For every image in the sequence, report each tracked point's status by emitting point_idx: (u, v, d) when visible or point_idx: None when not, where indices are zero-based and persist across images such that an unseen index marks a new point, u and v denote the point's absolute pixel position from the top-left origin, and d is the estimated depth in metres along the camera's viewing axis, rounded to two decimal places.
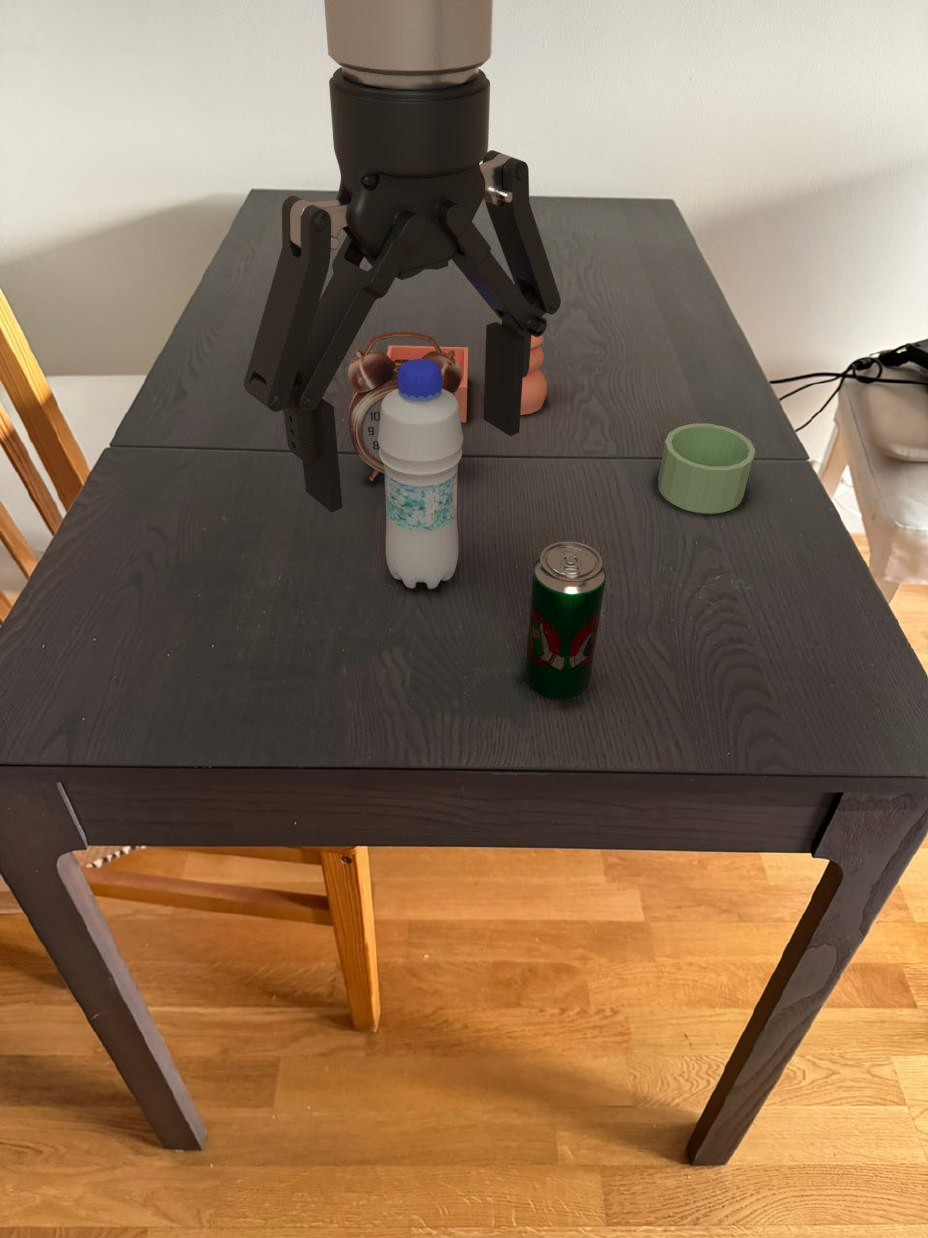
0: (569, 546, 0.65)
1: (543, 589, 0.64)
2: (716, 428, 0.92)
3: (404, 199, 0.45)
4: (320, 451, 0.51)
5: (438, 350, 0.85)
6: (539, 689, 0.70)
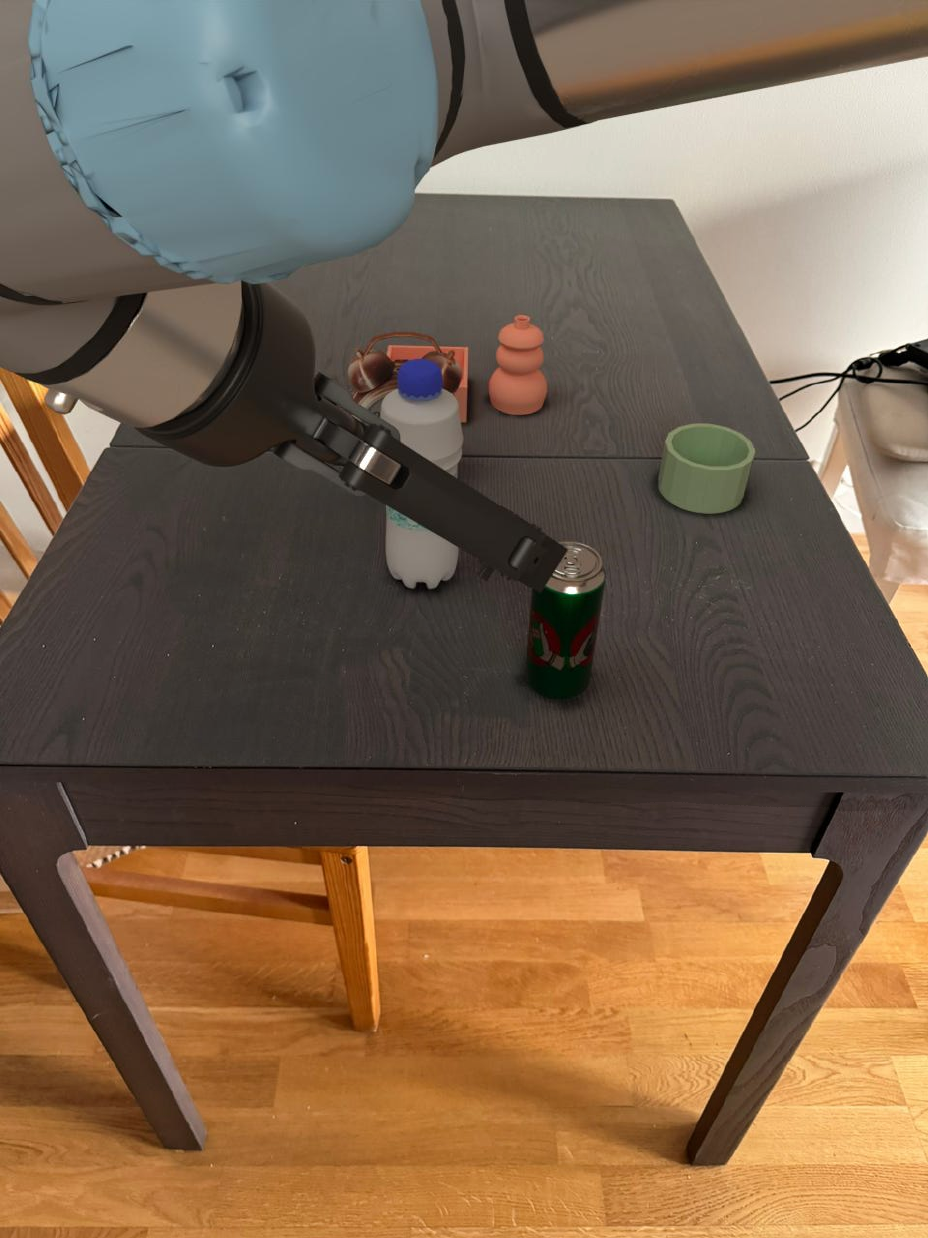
0: (569, 546, 0.65)
1: (543, 589, 0.64)
2: (716, 428, 0.92)
3: None
4: None
5: (438, 350, 0.85)
6: (539, 689, 0.70)
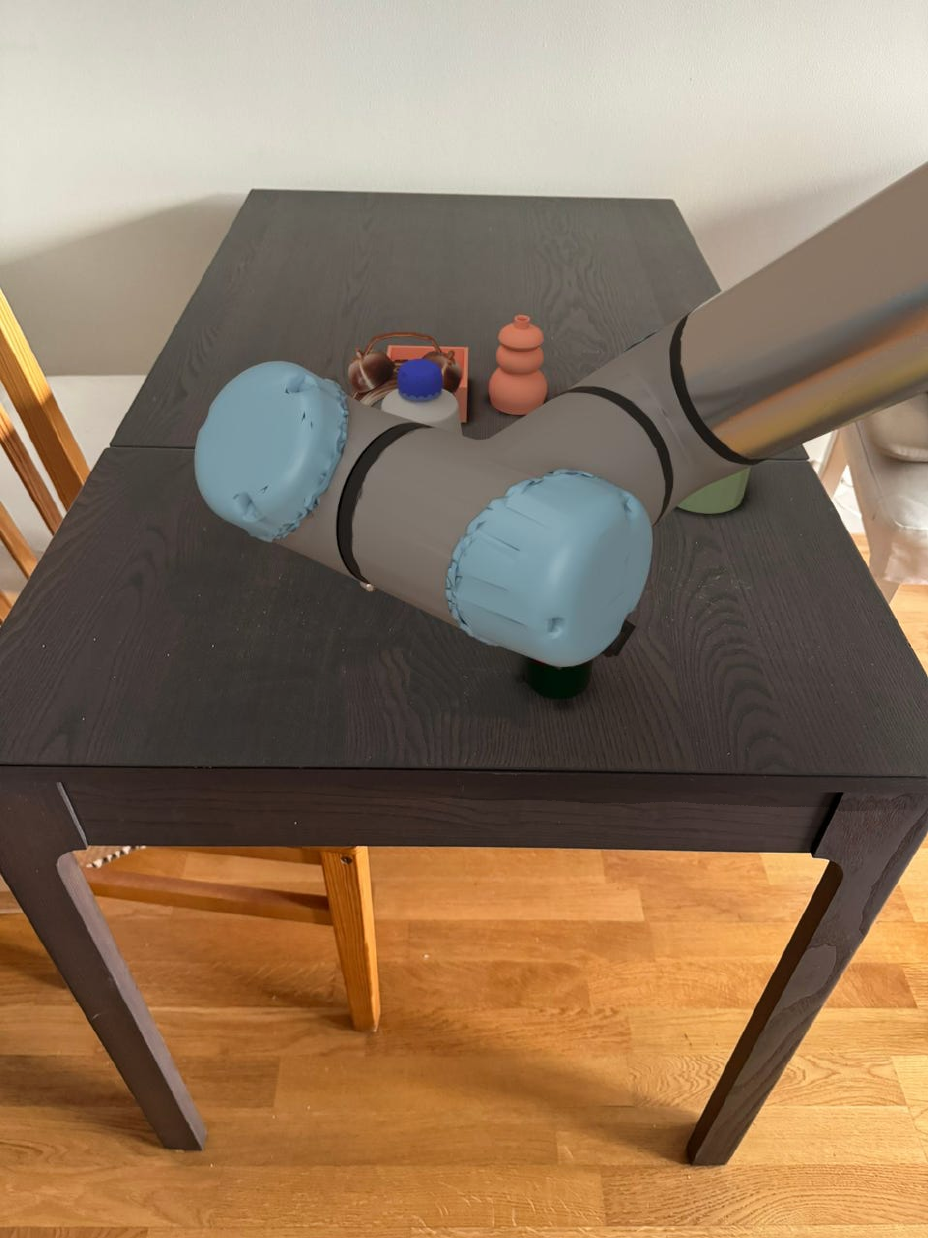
0: None
1: None
2: None
3: None
4: None
5: (438, 350, 0.85)
6: (539, 689, 0.70)
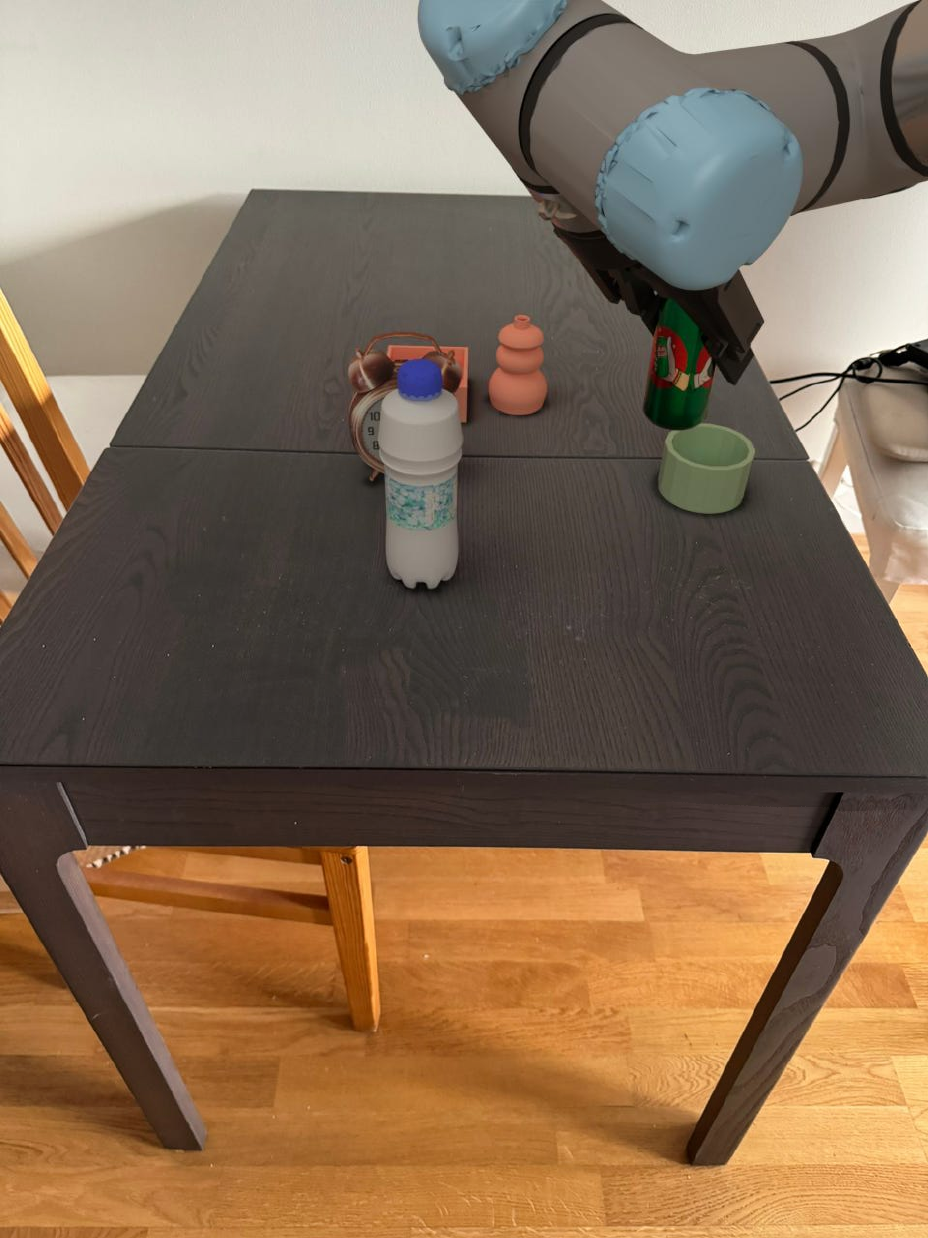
0: None
1: None
2: (716, 428, 0.92)
3: None
4: None
5: (438, 350, 0.85)
6: (660, 417, 0.72)
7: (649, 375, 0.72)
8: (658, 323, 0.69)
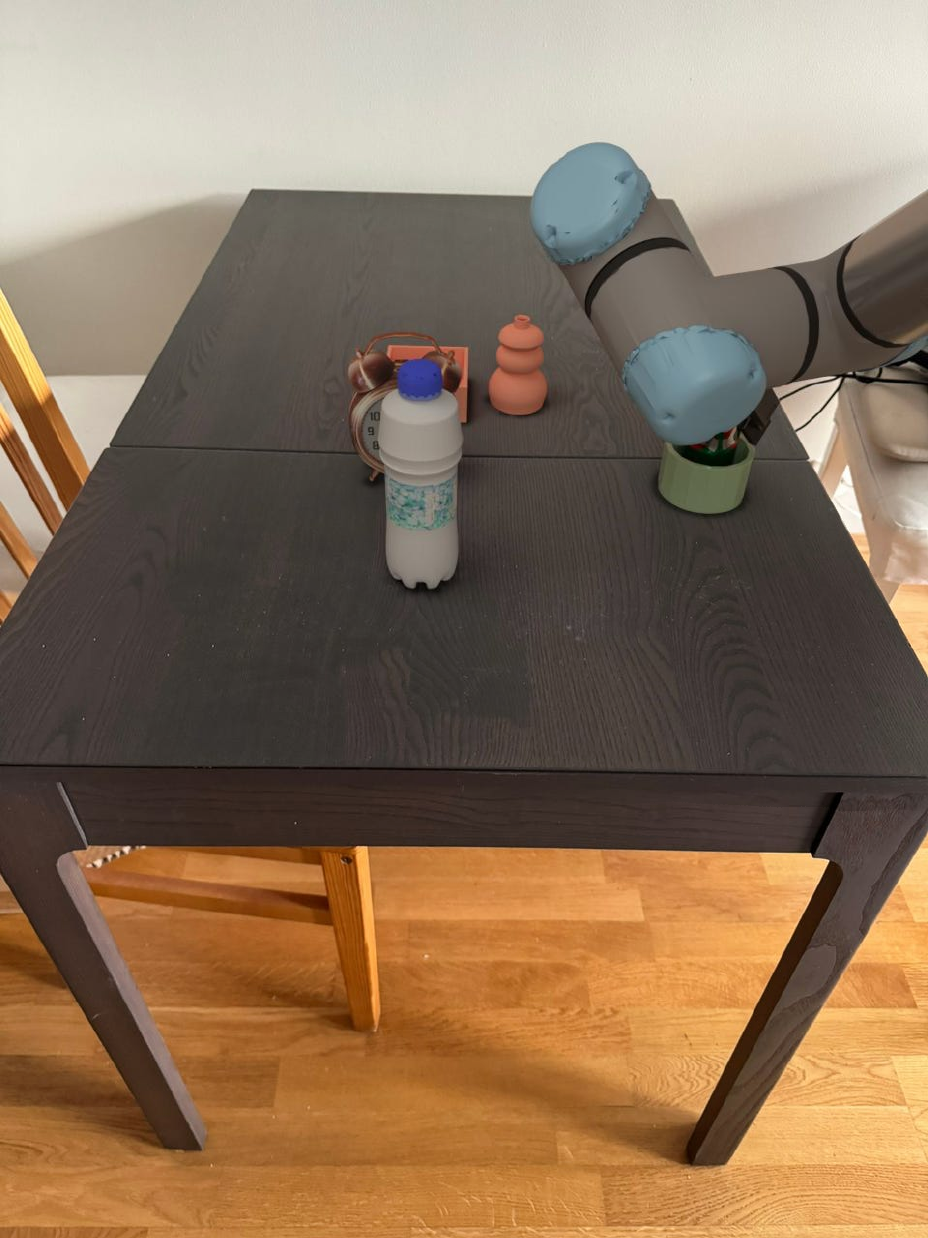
0: None
1: None
2: None
3: None
4: None
5: (438, 350, 0.85)
6: None
7: None
8: None
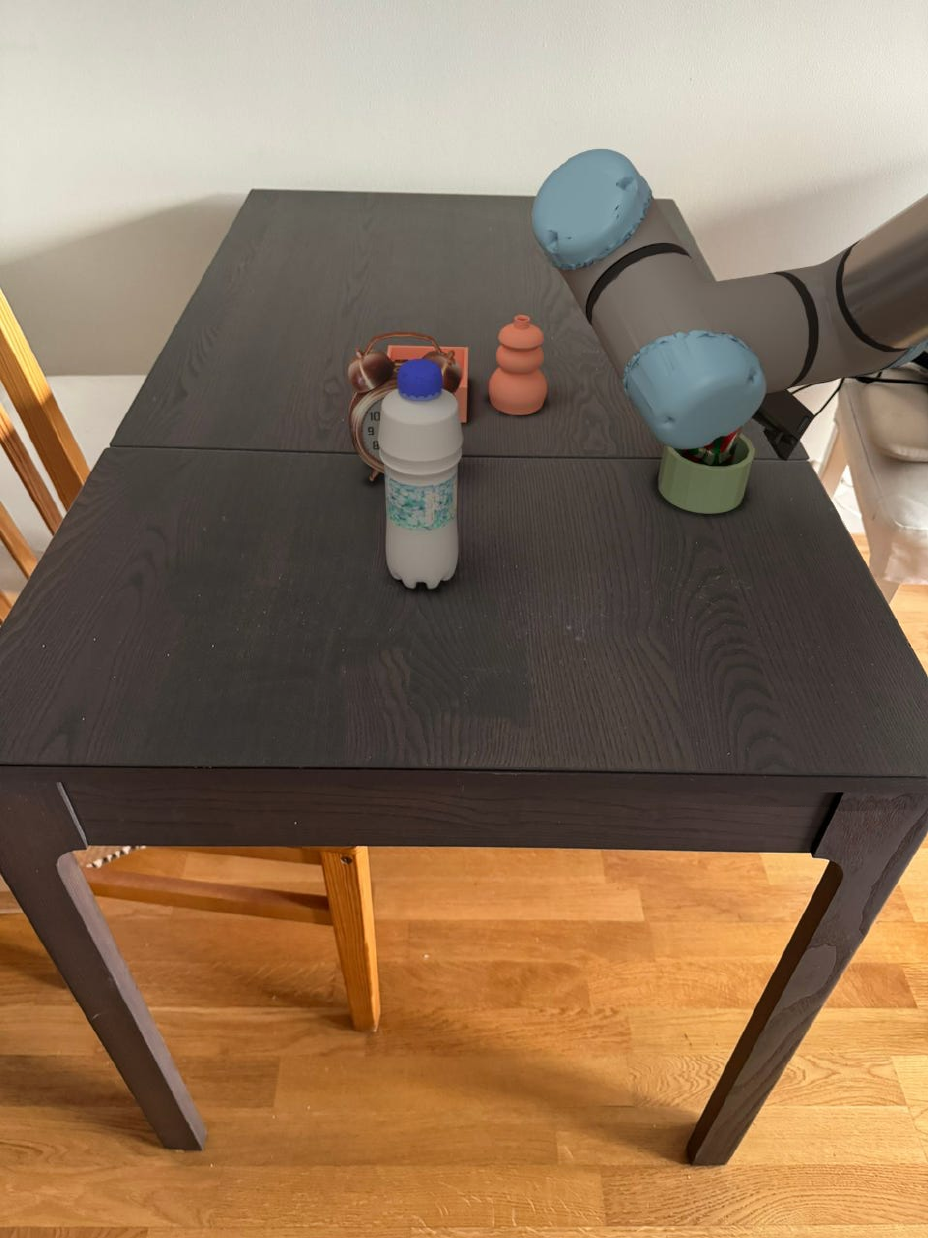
0: None
1: None
2: None
3: None
4: None
5: (438, 350, 0.85)
6: None
7: (682, 451, 0.89)
8: None
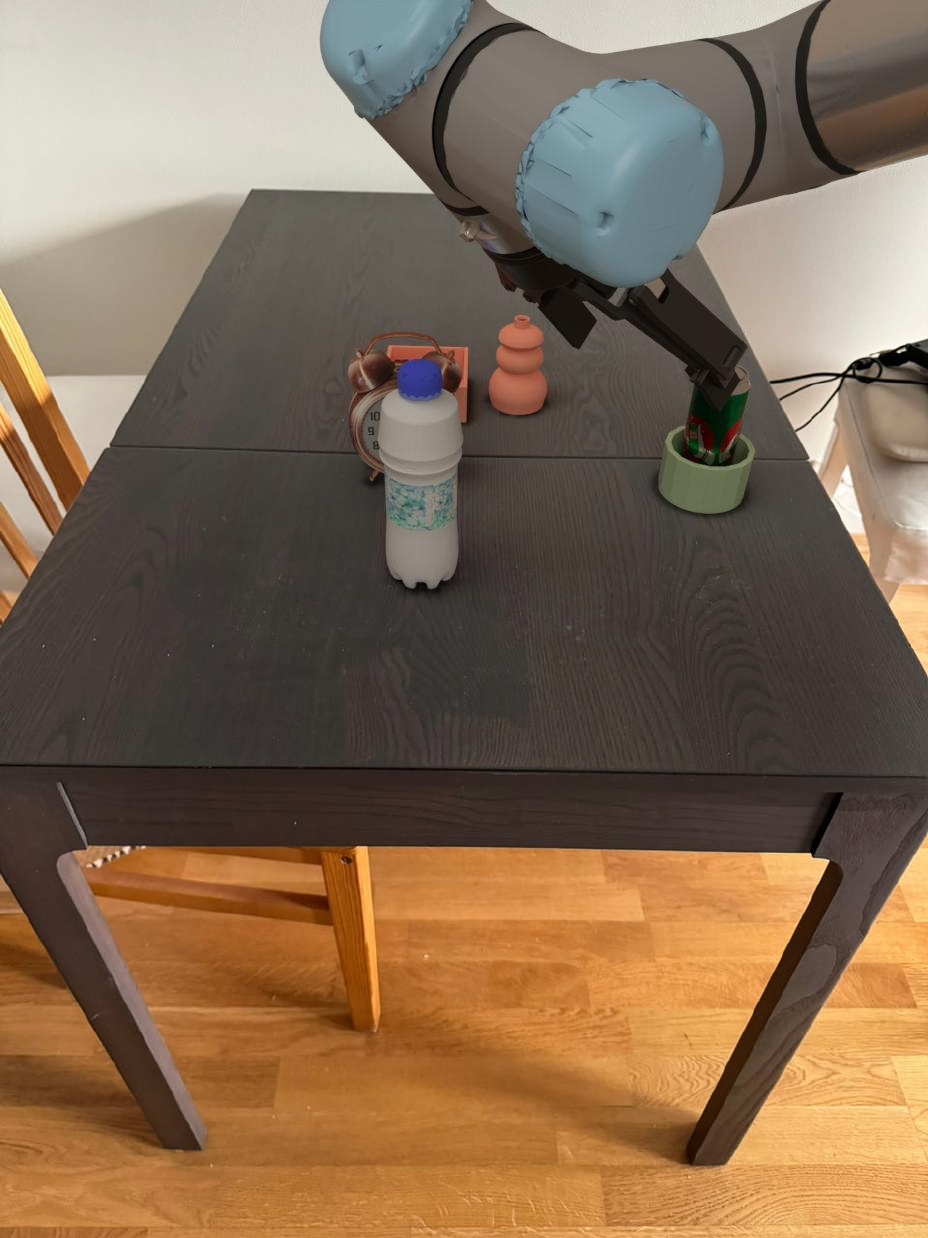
0: None
1: None
2: None
3: None
4: None
5: (438, 350, 0.85)
6: None
7: (682, 451, 0.89)
8: (690, 412, 0.86)
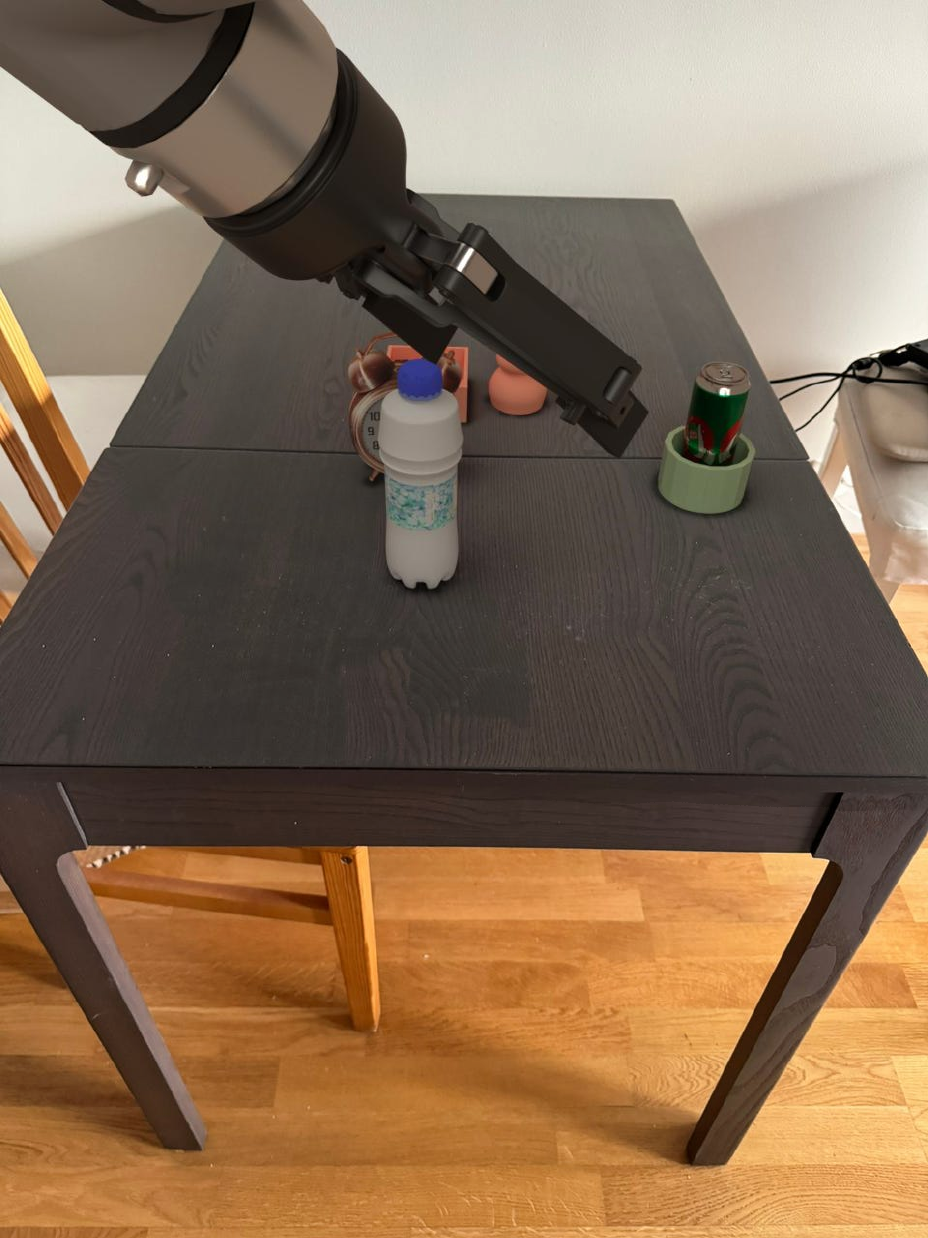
0: (721, 364, 0.85)
1: (705, 393, 0.84)
2: None
3: None
4: None
5: None
6: None
7: (682, 451, 0.89)
8: (690, 412, 0.86)
